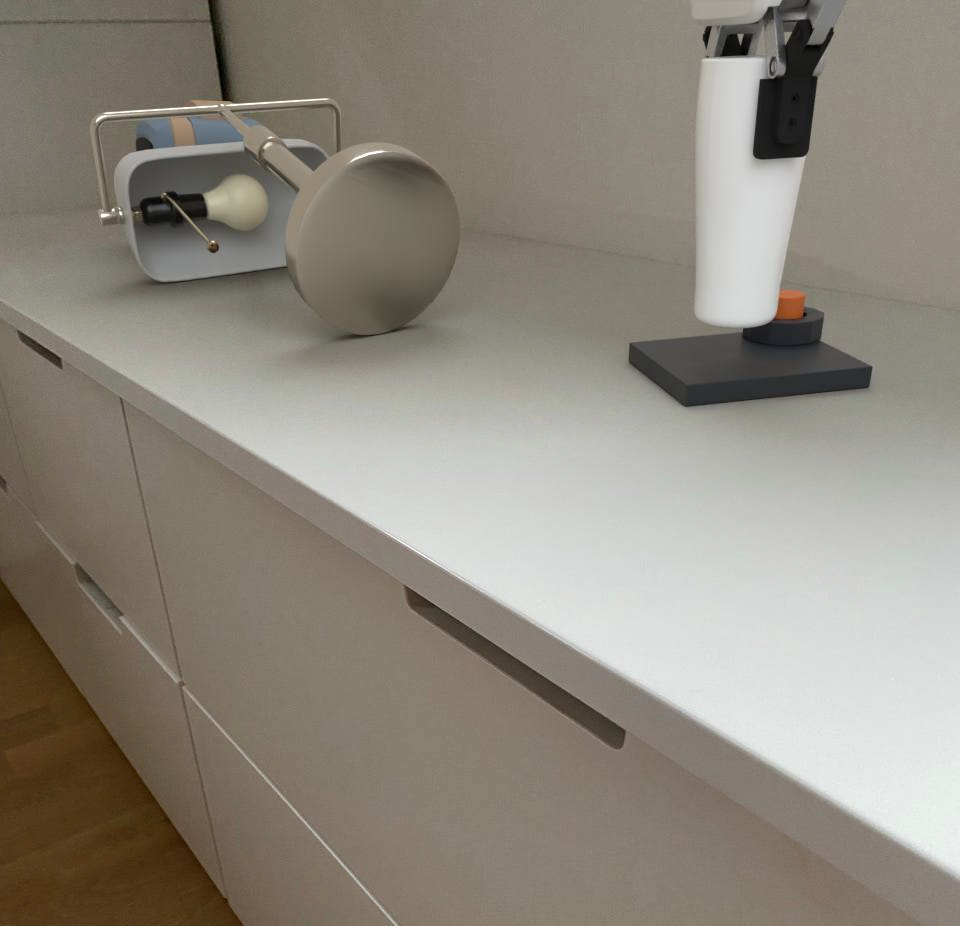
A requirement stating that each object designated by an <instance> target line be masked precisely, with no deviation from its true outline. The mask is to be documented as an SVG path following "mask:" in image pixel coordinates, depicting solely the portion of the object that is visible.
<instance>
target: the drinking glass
mask: <svg viewBox="0 0 960 926" xmlns="http://www.w3.org/2000/svg"><path fill="white" fill-rule="evenodd" d="M699 67H700V68H699V75H698V84H697V85H698V86H697V95H696V107H695V122H694V234H695V235H694V254H695V255H694V257H695V258H694V261H695V262H694V263H695V264H694V273H695V274H694V297H693V315H694V317H695V319H696V320H697V321H698V322H700V323H702V324H704V325H706V326H710V327H714V328H719V329H720V328H721V329H743V328H752V327H758V326H762V325H765V324H767V323H769V322H771V321H772V320H773V319H774V318H775V316H776V314H777V309H778V301H779V293H780V290H781V284H782V278H783V273H784V268H785V263H786V258H787V255H788V248H789V244H790V243H789V242H790V239H791V233H792V228H793V223H794V219H795V213H796V209H797V203H798V199H799V198H798V197H799V192H800V188H801V183H802V178H803V174H804V168H805V164H806V158H807V155H806V156H804V157H798V158H782V159H766V160H761V159H756V158H755V157H754V156H753V145H754V135H755V124H756V114H757V104H758V94H759V83H760V79H770V78H769V75H768V68H767V58H766V54H755V55H745V56H725V57H709V58H705V57H703V58H702V59H701V60H700V66H699Z"/></svg>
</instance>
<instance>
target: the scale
mask: <svg viewBox="0 0 960 926" xmlns="http://www.w3.org/2000/svg"><path fill="white" fill-rule="evenodd" d="M824 321H825V312H823V311H822V310H819V309H817V308H815V307H809V306H804V311H803V317H802V318H797V319H776V318H774V319H773V320H772V321H771V322H769V323H767V324H765V325H762V326H758V327H752V328H742V331H740V332H730V333H729V332H728V333H720V334H718V333H717V334H708V335H696V336H686V337H675V338H674V337H673V338H665V339H664V338H663V339H653V340H643V341H631V342H629V344H628V362H629V363H630V364H631V365H632V366H634V367H635V368H636V369H637V370H639V371H640V372H641V373H643V374H644V375H645V376H646V377H648V378H649V379H650V380H651V381H652V382H654V383H655V384H656V385H658V386H659V387H660V388H661V389H662V390H664V391H665V392H667V393H668V394H669V395H670V396H672V397H673V398H674V399H675V400H677V402H679V403H680V404H682V405H683V406H685V407H691V406H699V405H700V406H702V405H711V404H719V403H721V404H722V403H730V402H731V403H732V402H739V401H740V402H741V401H750V400H758V399H770V398H777V397H787V396H796V395H806V394H816V393H824V392H825V393H826V392H835V391H845V390H854V389H862V388H863V389H864V388H869V387H870V386H871V379H872V373H873V367H874V366H873V365H871V364H869V363H867V362H864V361H863V360H860V359H858V358H856V357H855V356H852V355H850V354H848V353H846V352H844V351H842V350H840V349H838V348H836V347H834V346H832V345H830V344H829V343H826V342H824V341H822V334H823V327H824Z"/></svg>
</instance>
